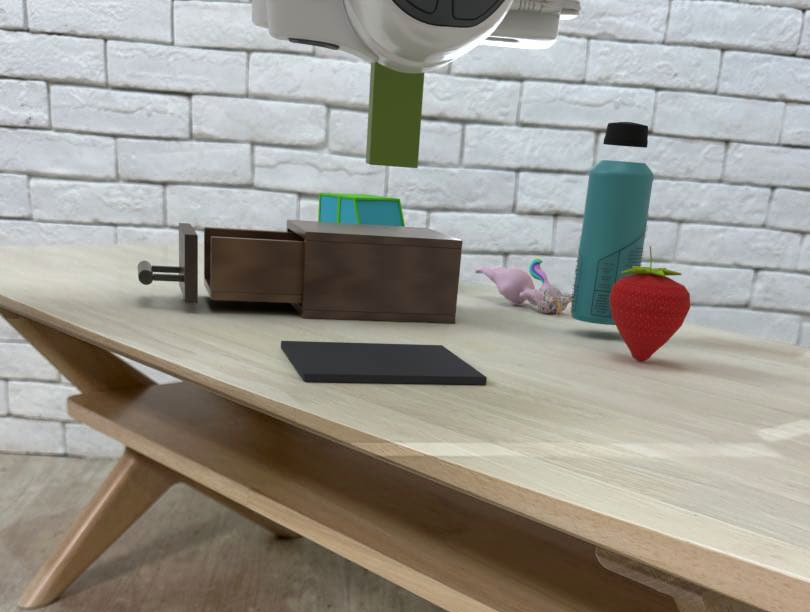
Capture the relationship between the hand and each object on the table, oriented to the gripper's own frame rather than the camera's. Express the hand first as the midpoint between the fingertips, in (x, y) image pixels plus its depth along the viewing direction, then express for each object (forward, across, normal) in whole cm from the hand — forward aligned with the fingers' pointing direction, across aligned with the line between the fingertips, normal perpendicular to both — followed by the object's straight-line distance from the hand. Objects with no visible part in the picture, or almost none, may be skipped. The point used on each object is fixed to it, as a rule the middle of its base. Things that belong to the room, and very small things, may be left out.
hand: (398, 16), depth 71 cm
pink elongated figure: (+36, -19, +25) cm, 48 cm away
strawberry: (+7, -24, +25) cm, 35 cm away
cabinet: (+26, 0, +25) cm, 36 cm away
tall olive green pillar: (-1, 0, +10) cm, 10 cm away
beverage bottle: (+20, -24, +25) cm, 40 cm away
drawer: (+24, +13, +24) cm, 36 cm away
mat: (-1, 0, +25) cm, 25 cm away
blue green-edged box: (+49, -2, +25) cm, 55 cm away
